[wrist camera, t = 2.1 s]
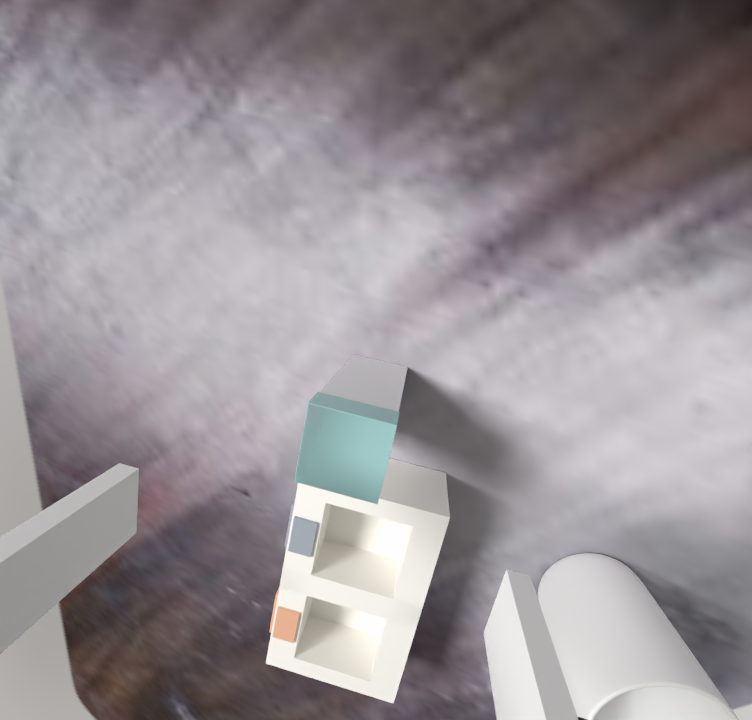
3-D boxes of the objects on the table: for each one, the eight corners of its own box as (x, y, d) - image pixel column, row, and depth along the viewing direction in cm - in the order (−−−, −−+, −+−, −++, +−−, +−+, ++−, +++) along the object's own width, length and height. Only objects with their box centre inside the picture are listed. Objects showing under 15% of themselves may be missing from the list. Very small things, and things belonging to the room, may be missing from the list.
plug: (353, 353, 30) (308, 402, 19) (408, 366, 30) (397, 425, 18) (343, 405, 31) (294, 481, 20) (396, 418, 31) (377, 504, 19)
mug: (484, 599, 34) (509, 743, 23) (598, 530, 31) (685, 660, 20) (544, 662, 34) (594, 829, 24) (662, 601, 31) (777, 761, 21)
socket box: (318, 439, 32) (294, 477, 26) (445, 472, 31) (450, 519, 25) (288, 601, 37) (261, 664, 31) (398, 634, 36) (393, 706, 30)
